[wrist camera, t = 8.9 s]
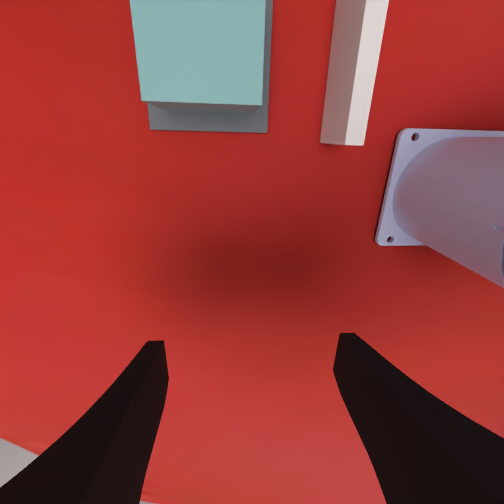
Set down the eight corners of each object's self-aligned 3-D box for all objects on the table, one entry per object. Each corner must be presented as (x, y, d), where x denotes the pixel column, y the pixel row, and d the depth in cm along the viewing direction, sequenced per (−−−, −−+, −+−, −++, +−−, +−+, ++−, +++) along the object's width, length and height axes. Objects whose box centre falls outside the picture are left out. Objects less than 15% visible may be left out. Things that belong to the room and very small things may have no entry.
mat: (272, -13, 14) (273, -16, 14) (266, 132, 17) (267, 132, 17) (134, -24, 14) (132, -27, 13) (151, 129, 16) (150, 129, 16)
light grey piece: (371, -130, 13) (429, -235, 9) (334, 143, 18) (363, 145, 14) (83, -165, 12) (17, -302, 8) (127, 137, 16) (98, 138, 13)
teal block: (254, 7, 14) (267, -54, 10) (251, 113, 16) (262, 105, 12) (156, 0, 14) (121, -67, 9) (166, 110, 16) (141, 100, 11)
